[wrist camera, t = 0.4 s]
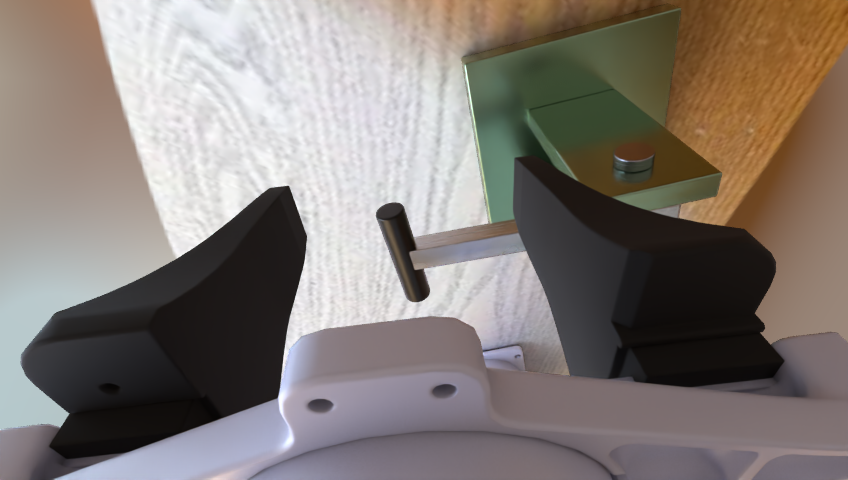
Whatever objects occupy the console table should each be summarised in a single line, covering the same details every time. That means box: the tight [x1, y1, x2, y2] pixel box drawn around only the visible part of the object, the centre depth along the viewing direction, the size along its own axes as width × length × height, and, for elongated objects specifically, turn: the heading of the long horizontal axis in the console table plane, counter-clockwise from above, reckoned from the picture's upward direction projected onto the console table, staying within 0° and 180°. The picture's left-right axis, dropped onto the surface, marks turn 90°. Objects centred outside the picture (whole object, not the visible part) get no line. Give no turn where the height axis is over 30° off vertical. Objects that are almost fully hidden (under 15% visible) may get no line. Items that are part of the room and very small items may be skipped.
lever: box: [376, 203, 681, 302], centre depth 18 cm, size 12×5×2 cm, turn 103°
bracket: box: [461, 4, 722, 223], centre depth 20 cm, size 10×11×10 cm
